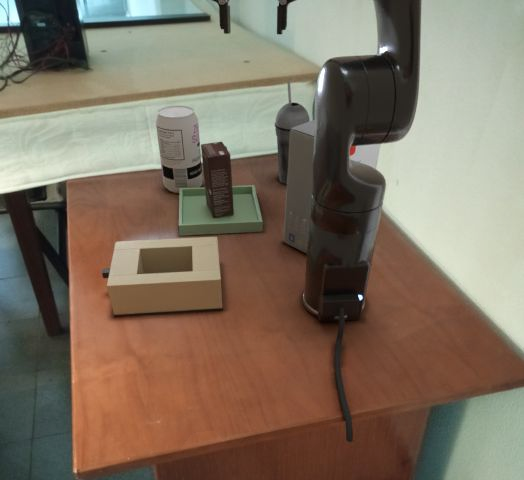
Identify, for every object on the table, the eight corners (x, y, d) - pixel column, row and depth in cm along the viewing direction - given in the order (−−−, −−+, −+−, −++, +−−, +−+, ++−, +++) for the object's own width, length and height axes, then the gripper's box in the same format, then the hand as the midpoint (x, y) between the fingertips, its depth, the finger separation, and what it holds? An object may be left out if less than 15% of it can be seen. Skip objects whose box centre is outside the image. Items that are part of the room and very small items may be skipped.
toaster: (223, 309, 74) (221, 279, 70) (103, 317, 73) (94, 286, 69) (219, 265, 83) (217, 236, 79) (112, 270, 82) (105, 241, 78)
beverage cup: (303, 188, 105) (311, 85, 91) (270, 185, 106) (272, 82, 92) (308, 174, 110) (316, 74, 96) (276, 171, 111) (279, 72, 97)
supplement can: (159, 182, 106) (149, 107, 96) (195, 175, 109) (189, 102, 99) (170, 197, 101) (160, 120, 91) (208, 190, 104) (203, 115, 93)
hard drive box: (314, 259, 85) (326, 141, 71) (281, 243, 88) (286, 127, 75) (367, 227, 93) (386, 115, 79) (335, 213, 97) (348, 104, 83)
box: (204, 205, 97) (200, 143, 89) (227, 202, 98) (224, 140, 90) (211, 219, 93) (207, 156, 85) (234, 216, 94) (232, 153, 86)
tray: (262, 231, 91) (262, 221, 90) (179, 235, 90) (178, 225, 89) (254, 194, 102) (254, 185, 101) (180, 197, 101) (179, 188, 100)
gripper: (197, -106, 68) (204, 34, 77) (300, -108, 66) (295, 35, 75) (210, -95, 74) (215, 33, 83) (304, -97, 73) (299, 34, 82)
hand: (253, 34), depth 79 cm, fingers open, 8 cm apart
